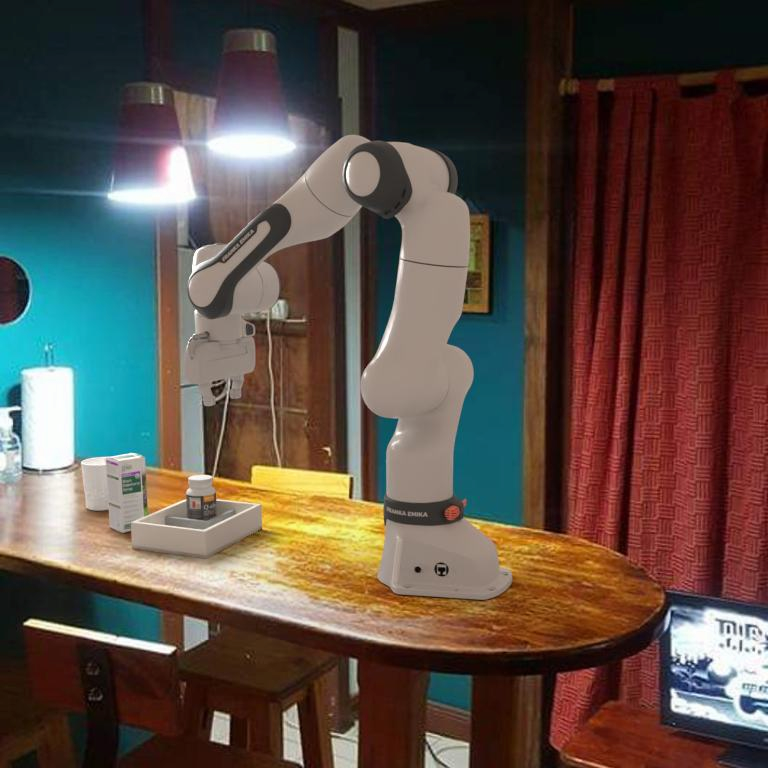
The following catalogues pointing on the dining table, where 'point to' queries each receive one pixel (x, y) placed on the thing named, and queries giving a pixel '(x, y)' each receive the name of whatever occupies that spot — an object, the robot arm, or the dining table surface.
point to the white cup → (95, 483)
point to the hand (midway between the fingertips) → (223, 401)
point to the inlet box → (196, 529)
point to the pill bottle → (201, 498)
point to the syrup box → (126, 490)
